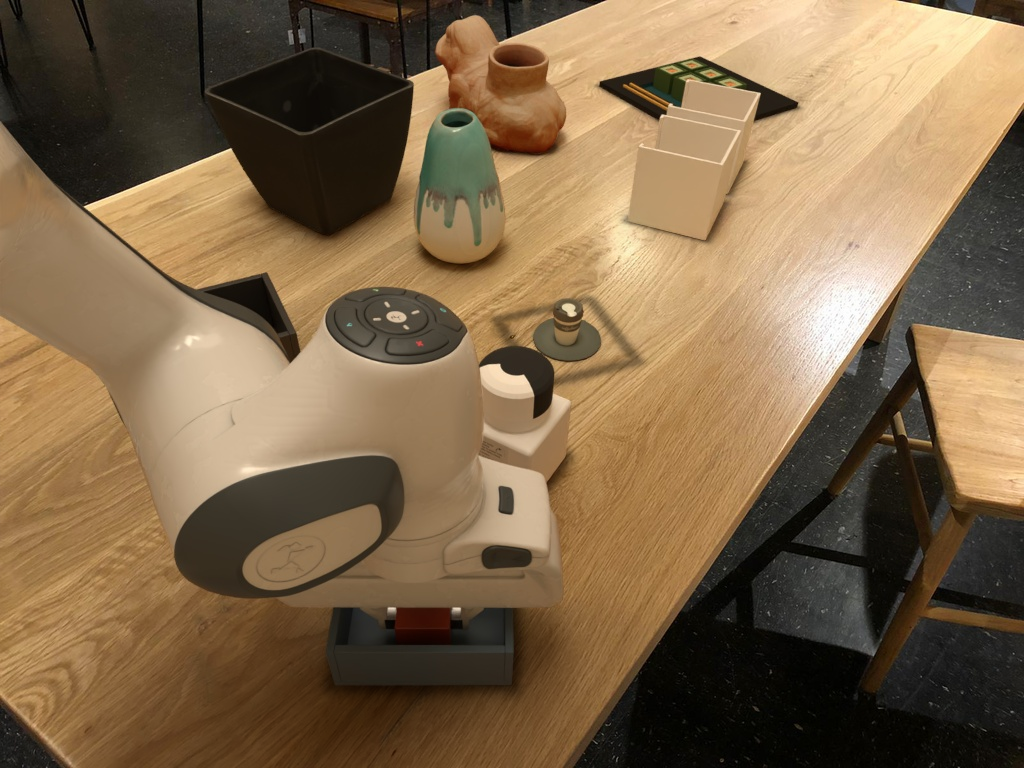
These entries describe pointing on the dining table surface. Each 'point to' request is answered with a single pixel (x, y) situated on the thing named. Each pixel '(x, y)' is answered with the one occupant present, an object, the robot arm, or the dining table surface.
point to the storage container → (693, 159)
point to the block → (423, 626)
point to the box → (420, 652)
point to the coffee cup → (567, 333)
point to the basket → (260, 306)
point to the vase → (458, 191)
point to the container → (523, 411)
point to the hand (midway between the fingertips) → (426, 621)
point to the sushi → (668, 85)
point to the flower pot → (317, 134)
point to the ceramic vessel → (501, 87)
